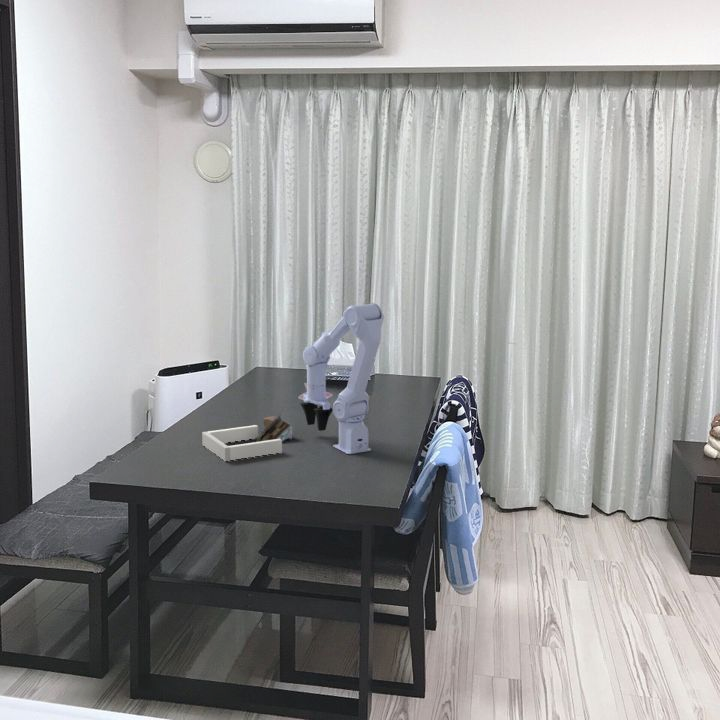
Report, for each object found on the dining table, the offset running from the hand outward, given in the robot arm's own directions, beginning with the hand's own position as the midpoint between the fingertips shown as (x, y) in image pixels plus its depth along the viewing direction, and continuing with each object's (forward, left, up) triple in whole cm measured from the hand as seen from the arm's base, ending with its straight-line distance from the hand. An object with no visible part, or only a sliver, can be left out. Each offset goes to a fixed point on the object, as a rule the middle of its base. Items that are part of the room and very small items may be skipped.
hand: (316, 427), depth 263 cm
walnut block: (+15, +8, -3) cm, 17 cm away
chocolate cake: (+4, +12, -4) cm, 13 cm away
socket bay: (0, +24, -3) cm, 24 cm away
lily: (+34, -17, -4) cm, 38 cm away
